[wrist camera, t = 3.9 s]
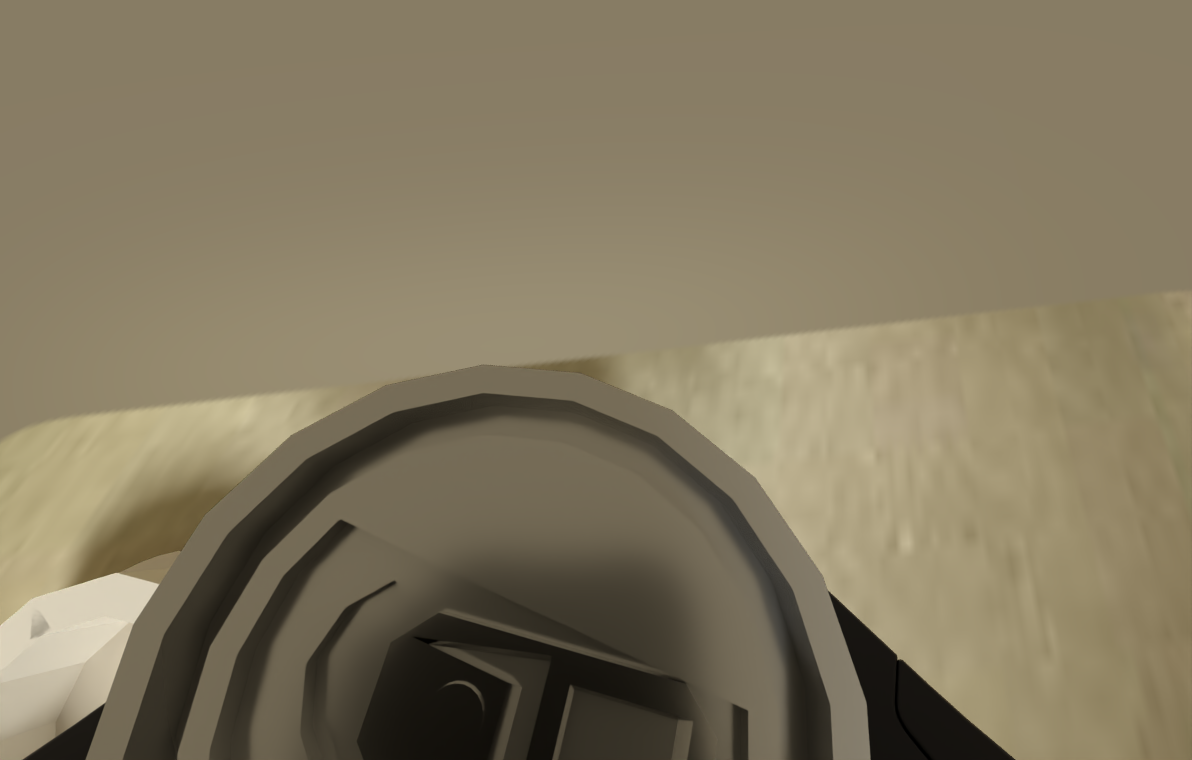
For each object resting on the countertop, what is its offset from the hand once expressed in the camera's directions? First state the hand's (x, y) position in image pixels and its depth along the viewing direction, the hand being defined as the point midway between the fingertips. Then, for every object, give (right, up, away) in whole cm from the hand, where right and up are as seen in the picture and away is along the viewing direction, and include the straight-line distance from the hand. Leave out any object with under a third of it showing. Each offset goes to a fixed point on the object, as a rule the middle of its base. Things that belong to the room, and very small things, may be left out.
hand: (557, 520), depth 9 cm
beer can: (0, -3, +6) cm, 7 cm away
